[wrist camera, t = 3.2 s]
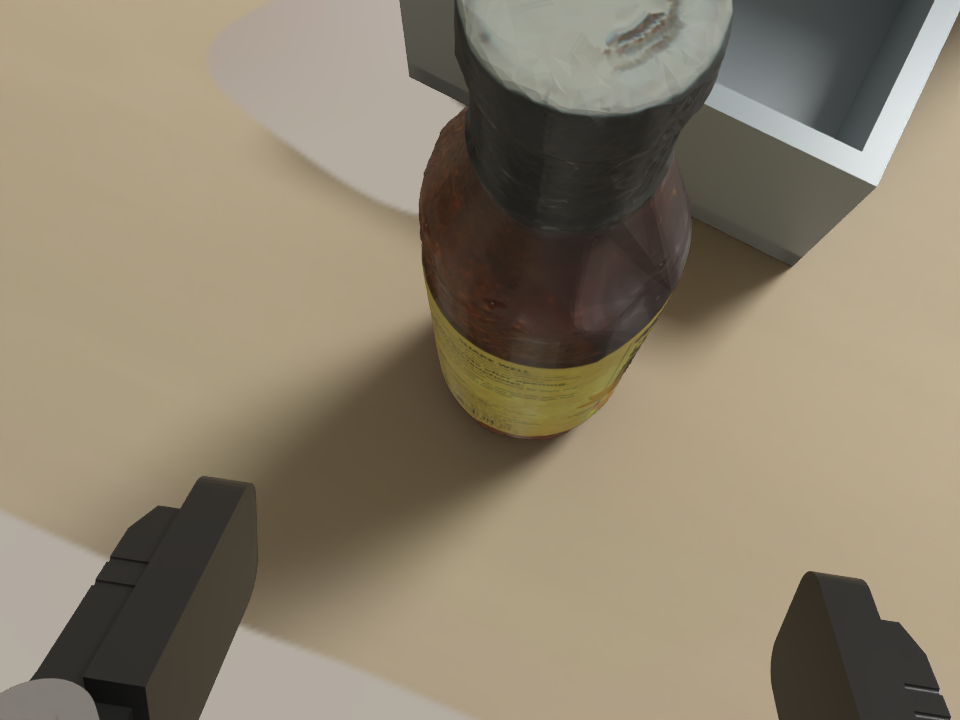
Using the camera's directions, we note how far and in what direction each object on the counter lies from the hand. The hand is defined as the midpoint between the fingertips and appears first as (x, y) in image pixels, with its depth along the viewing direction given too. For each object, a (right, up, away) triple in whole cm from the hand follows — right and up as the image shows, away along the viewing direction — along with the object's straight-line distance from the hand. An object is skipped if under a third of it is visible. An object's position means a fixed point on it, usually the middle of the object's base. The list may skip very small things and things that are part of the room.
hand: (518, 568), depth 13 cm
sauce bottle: (+1, +3, +19) cm, 19 cm away
